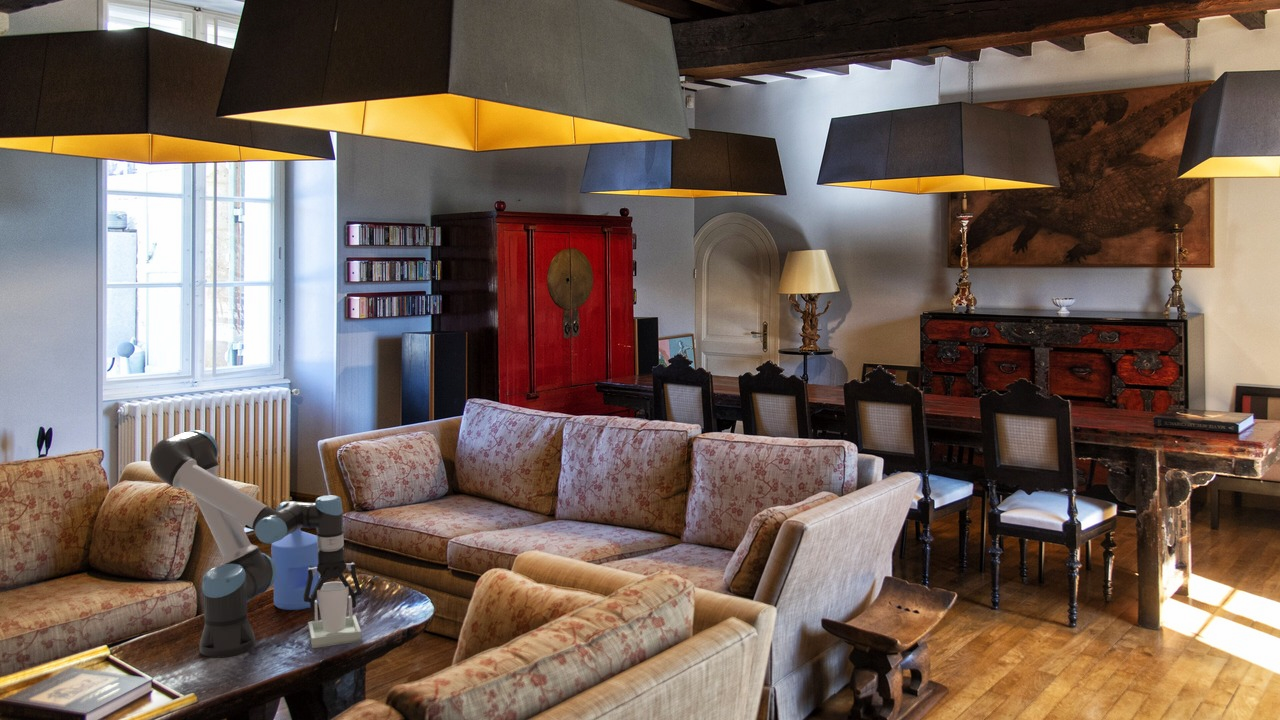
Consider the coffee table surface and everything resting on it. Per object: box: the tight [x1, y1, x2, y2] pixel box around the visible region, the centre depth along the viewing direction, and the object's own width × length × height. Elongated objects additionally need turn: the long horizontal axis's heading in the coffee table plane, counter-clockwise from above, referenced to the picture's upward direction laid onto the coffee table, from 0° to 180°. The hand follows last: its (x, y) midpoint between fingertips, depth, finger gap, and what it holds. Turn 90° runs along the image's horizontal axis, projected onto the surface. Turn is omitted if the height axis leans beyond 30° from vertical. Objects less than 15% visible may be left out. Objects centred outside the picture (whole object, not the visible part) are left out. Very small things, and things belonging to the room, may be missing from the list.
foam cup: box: [317, 581, 350, 633], centre depth 318 cm, size 10×9×13 cm
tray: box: [307, 615, 362, 649], centre depth 319 cm, size 14×14×3 cm
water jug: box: [270, 528, 321, 611], centre depth 346 cm, size 16×16×28 cm
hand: (333, 620), depth 318 cm, fingers closed on foam cup, 9 cm apart
